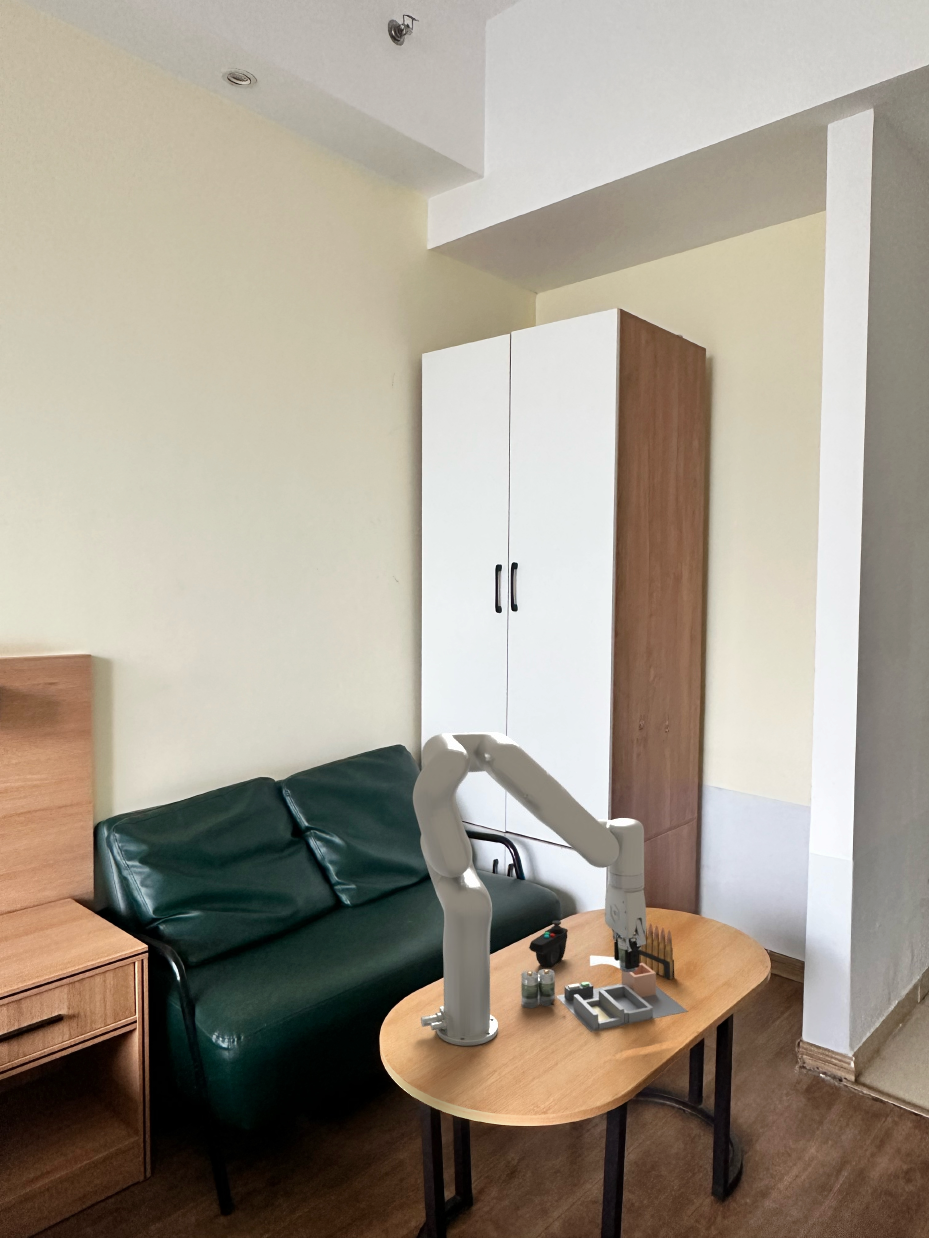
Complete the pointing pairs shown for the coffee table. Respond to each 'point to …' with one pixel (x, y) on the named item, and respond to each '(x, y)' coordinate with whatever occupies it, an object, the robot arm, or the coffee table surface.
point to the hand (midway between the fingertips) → (626, 962)
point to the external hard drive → (603, 961)
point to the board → (615, 1005)
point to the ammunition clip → (658, 952)
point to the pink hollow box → (641, 980)
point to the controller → (550, 945)
